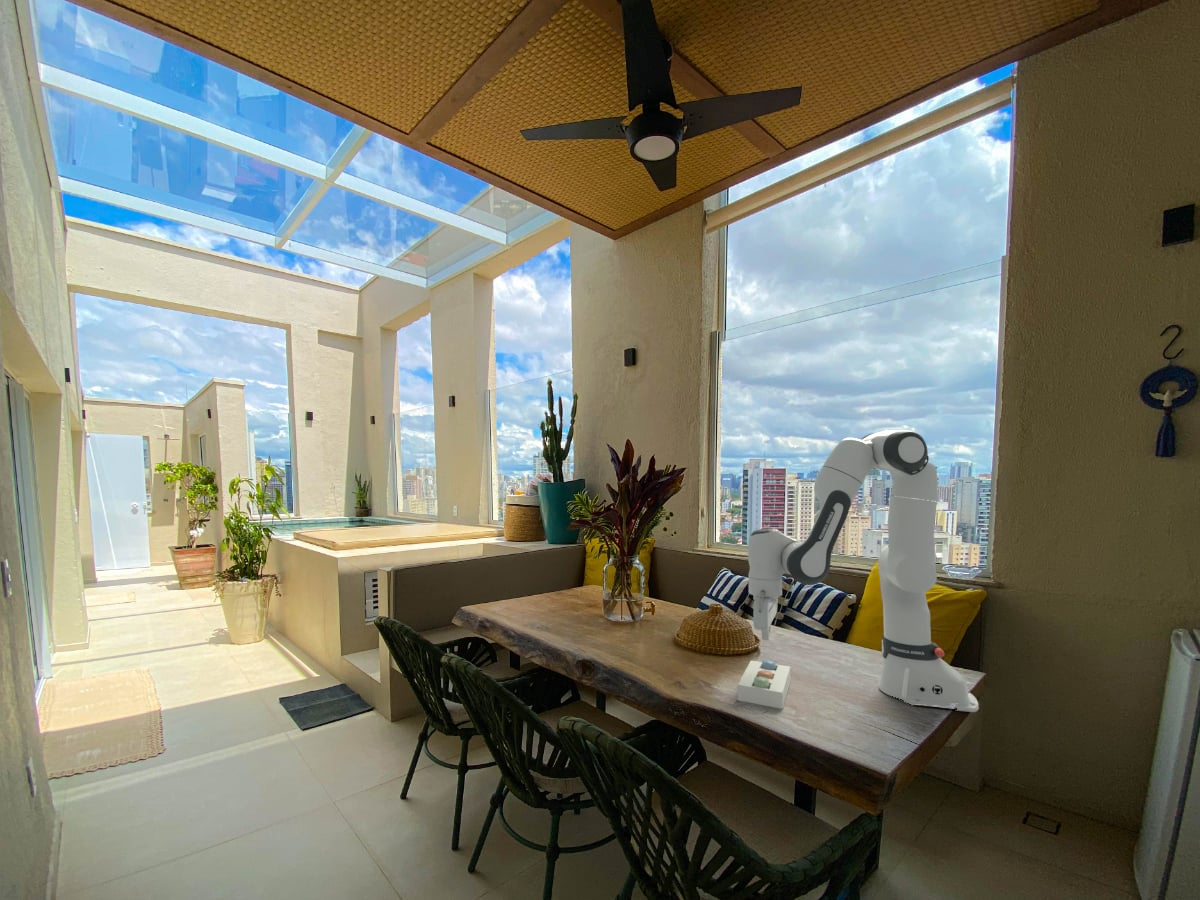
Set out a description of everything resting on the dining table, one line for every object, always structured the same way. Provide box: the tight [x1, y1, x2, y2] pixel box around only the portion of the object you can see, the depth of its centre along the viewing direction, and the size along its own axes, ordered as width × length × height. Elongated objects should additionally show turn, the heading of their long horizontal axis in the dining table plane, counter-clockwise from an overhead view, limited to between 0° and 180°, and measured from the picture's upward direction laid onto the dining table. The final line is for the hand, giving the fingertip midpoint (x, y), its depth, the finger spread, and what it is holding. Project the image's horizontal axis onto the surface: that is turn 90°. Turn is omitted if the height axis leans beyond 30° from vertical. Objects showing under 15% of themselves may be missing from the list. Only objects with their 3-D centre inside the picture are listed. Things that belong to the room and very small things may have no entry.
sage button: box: [754, 677, 769, 689], centre depth 133 cm, size 4×4×3 cm
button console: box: [737, 660, 792, 710], centre depth 139 cm, size 11×20×4 cm, turn 154°
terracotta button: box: [758, 670, 772, 687], centre depth 139 cm, size 4×4×3 cm
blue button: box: [761, 659, 777, 671], centre depth 145 cm, size 4×4×3 cm
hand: (766, 638), depth 140 cm, fingers closed
